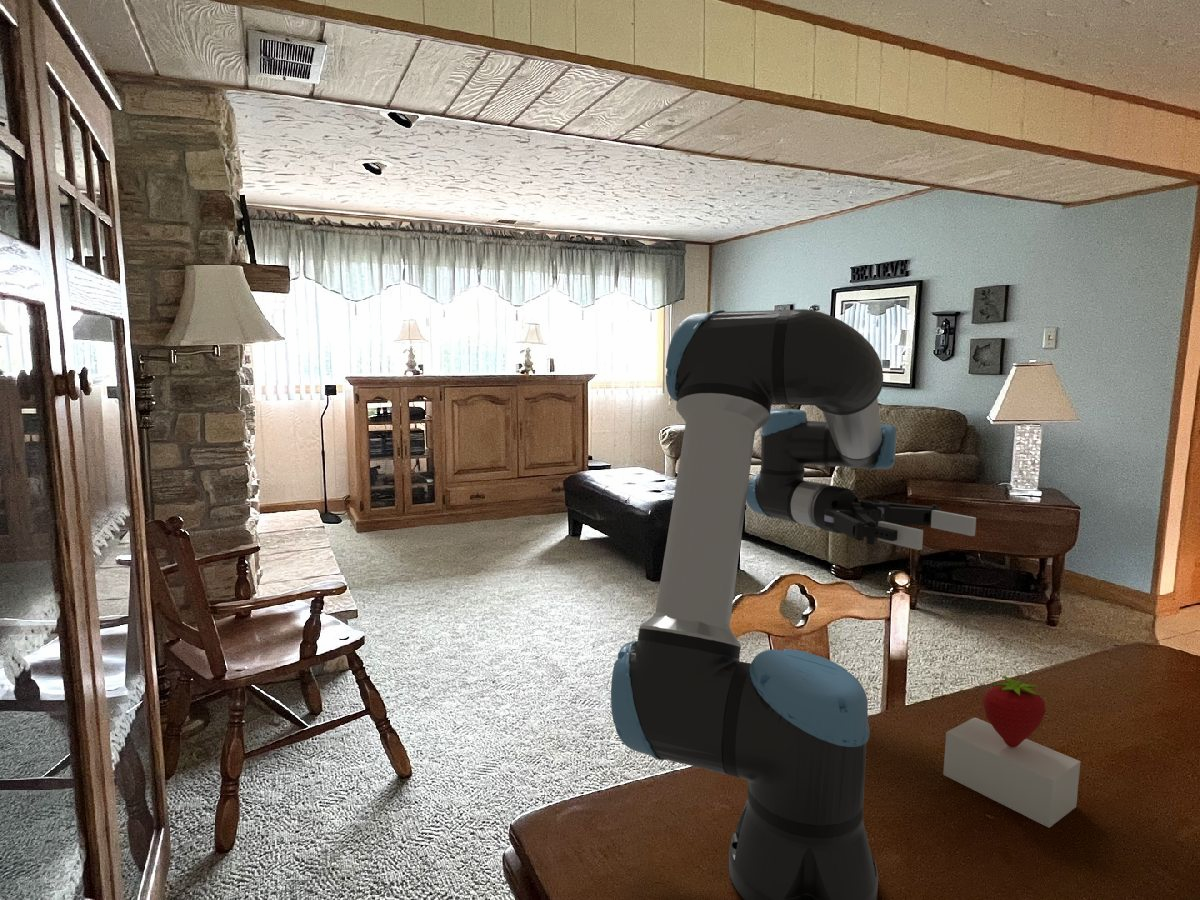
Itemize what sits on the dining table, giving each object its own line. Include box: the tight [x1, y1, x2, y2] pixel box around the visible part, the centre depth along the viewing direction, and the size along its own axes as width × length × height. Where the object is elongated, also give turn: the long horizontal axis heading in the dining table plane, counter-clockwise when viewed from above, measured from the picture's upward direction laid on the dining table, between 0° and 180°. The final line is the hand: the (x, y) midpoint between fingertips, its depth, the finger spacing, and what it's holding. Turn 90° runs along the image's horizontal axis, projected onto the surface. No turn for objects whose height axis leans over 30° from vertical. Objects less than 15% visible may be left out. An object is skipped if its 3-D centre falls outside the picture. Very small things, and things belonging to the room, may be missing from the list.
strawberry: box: [982, 668, 1046, 747], centre depth 90 cm, size 6×8×10 cm
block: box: [943, 717, 1081, 828], centre depth 91 cm, size 7×13×6 cm, turn 34°
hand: (949, 533), depth 102 cm, fingers open, 13 cm apart
